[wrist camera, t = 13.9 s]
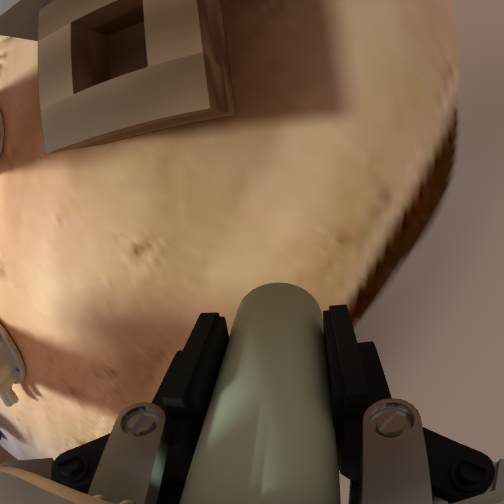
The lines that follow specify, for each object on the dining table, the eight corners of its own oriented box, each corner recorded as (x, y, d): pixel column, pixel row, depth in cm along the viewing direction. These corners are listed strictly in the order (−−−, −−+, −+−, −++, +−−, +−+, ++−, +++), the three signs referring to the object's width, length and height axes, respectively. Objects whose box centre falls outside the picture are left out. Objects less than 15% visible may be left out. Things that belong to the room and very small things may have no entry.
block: (235, 115, 18) (210, 108, 13) (101, 144, 20) (45, 153, 14) (217, -18, 15) (190, -61, 9) (90, 24, 17) (39, 7, 11)
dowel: (322, 351, 12) (332, 613, 3) (242, 355, 12) (183, 604, 3) (320, 279, 11) (353, 610, 2) (230, 285, 11) (118, 583, 2)
